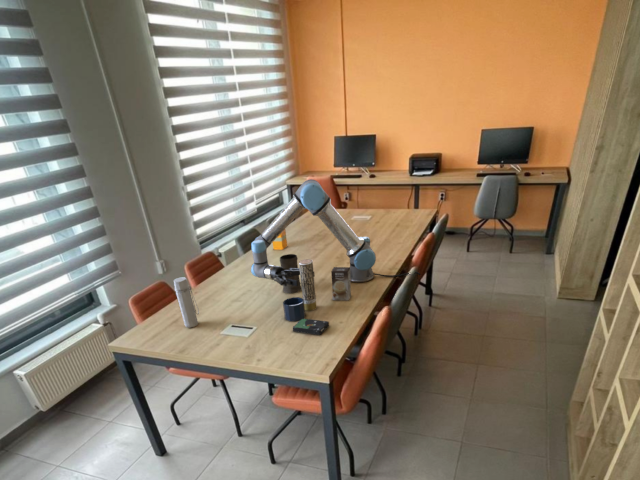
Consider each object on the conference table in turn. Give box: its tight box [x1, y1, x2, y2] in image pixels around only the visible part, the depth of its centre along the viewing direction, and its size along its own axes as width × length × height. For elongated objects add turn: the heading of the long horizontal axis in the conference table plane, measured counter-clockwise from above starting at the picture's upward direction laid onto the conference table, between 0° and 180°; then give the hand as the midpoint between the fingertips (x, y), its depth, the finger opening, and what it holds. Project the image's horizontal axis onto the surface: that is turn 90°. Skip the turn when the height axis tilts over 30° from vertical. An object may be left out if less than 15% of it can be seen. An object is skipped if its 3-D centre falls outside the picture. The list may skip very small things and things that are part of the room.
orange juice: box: [272, 228, 288, 251], centre depth 328 cm, size 8×9×20 cm
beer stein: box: [279, 253, 302, 294], centre depth 258 cm, size 15×11×20 cm
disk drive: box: [292, 318, 330, 336], centre depth 217 cm, size 10×3×15 cm
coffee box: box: [330, 266, 352, 301], centre depth 239 cm, size 9×6×16 cm
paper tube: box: [298, 258, 317, 312], centre depth 230 cm, size 7×7×25 cm
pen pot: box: [282, 296, 306, 322], centre depth 229 cm, size 10×10×8 cm
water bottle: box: [173, 276, 200, 329], centre depth 232 cm, size 9×8×25 cm
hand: (305, 278), depth 229 cm, fingers open, 13 cm apart
